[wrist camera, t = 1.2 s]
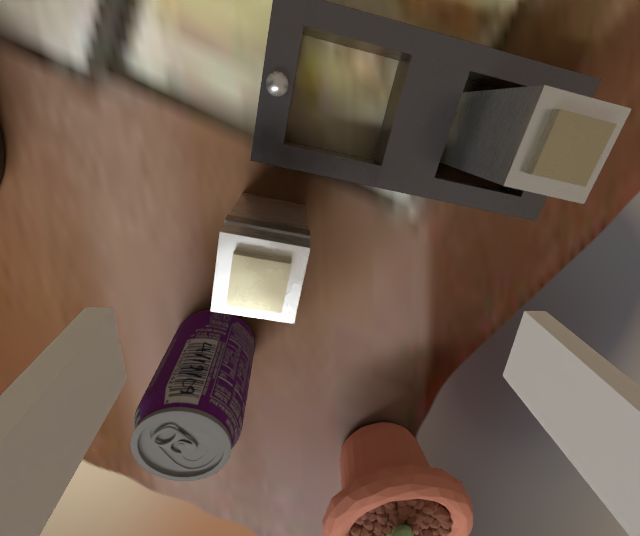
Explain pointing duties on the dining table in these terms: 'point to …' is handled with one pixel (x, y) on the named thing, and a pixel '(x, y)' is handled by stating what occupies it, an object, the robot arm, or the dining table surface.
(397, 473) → the decorative flower
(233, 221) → the block
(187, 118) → the dining table surface
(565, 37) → the dining table surface
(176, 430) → the beverage can
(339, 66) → the dining table surface
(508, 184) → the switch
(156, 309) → the dining table surface
